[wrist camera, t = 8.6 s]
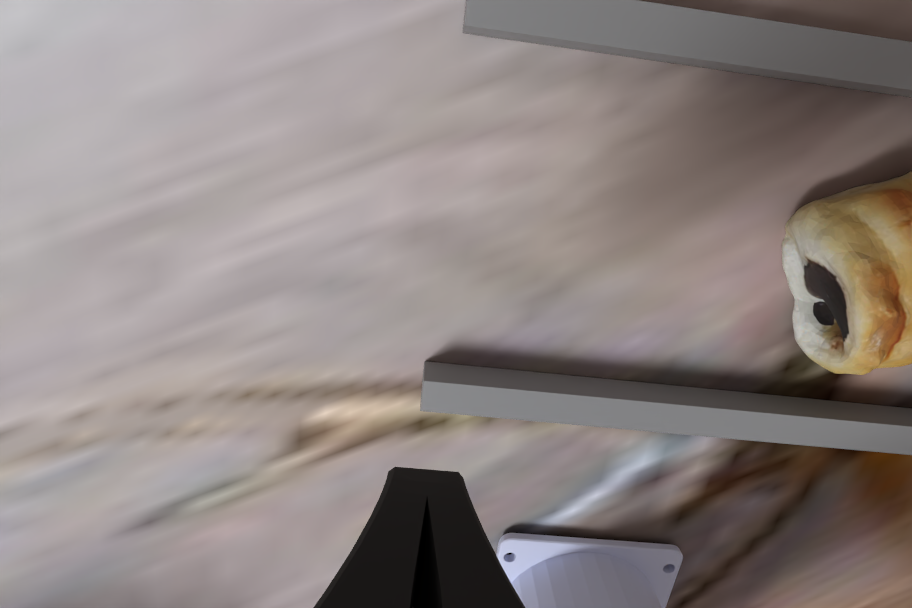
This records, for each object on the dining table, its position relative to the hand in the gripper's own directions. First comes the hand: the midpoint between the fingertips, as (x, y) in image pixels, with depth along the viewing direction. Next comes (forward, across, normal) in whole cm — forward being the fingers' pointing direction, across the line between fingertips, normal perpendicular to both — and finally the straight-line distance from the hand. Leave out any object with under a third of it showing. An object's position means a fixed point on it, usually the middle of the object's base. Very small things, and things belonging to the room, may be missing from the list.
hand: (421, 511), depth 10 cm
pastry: (+10, -16, -5) cm, 19 cm away
